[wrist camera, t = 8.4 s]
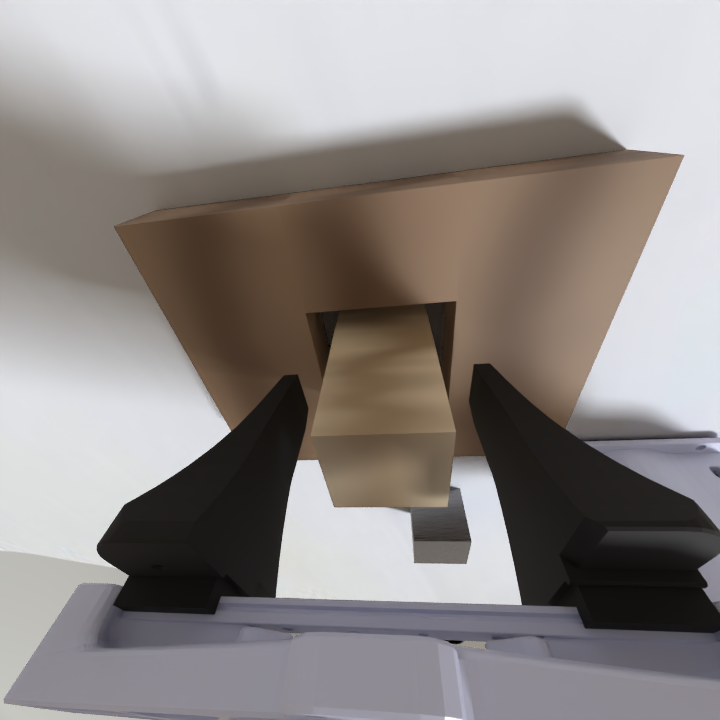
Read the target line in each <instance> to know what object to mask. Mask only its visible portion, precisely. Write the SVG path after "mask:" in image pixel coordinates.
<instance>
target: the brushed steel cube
mask: <svg viewBox="0 0 720 720" xmlns="http://www.w3.org/2000/svg"><path fill="white" fill-rule="evenodd" d="M410 514H411V527H412V540H413V553H414V563H446V564H466V563H467V559H468V554H469V550H470V546H471V537H470V533H469V528H468V524H467V519H466V515H465V510H464V505H463V501H462V496H461V492H460V489H450V490H449V499H448V507H410Z"/></svg>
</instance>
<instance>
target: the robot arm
mask: <svg viewBox="0 0 720 720" xmlns="http://www.w3.org/2000/svg"><path fill="white" fill-rule="evenodd" d="M469 404H470V409H471V414H472V418H473V422H474V426H475V428H476V431H477V434H478V437H479V440H480V442H481V445H482V448H483V450H484V453H485V456H486V459H487V461H488V464H489V467H490V470H491V472H492V475H493V478H494V482H495V485H496V489H497V493H498V496H499V500H500V504H501V508H502V512H503V517H504V521H505V525H506V529H507V534H508V538H509V543H510V547H511V552H512V557H513V561H514V566H515V571H516V576H517V581H518V586H519V591H520V596H521V602H522V605H494V604H461V603H427V602H394V601H360V600H327V599H294V598H276V587H277V577H278V567H279V558H280V550H281V542H282V534H283V528H284V521H285V514H286V508H287V502H288V496H289V491H290V485H291V481H292V477H293V473H294V470H295V466H296V463H297V459H298V456H299V452H300V448H301V445H302V441H303V438H304V434H305V430H306V424H307V417H308V409H309V408H308V405H307V402H306V398H305V395H304V392H303V389H302V386H301V383H300V380H299V376H298V374H296V375H284V376H283V377H282V378H281V379H280V380H279V381H278V382H277V384H276V385H275V386H274V387H273V388H272V389H271V390H270V392H269V393H268V394H267V395H266V396H265V397H264V398H263V400H262V401H261V402H260V403H259V404H258V405H257V406H256V407H255V408H254V409H253V410H252V411H251V412H250V413H249V415H248V416H247V417H246V418H245V419H244V420H243V421H242V422H241V423H240V424H239V425H238V426H237V427H236V428H234V429H233V430H232V431H231V432H230V433H229V434H228V435H227V436H226V437H224V438H223V439H222V440H221V441H220V442H219V443H217V444H216V445H215V446H214V447H213V448H211V449H210V450H209V451H207V452H206V453H205V454H203V455H202V456H201V457H199V458H198V459H197V460H195V461H194V462H193V463H191V464H190V465H189V466H187V467H186V468H184V469H183V470H181V471H180V472H178V473H177V474H175V475H174V476H172V477H171V478H169V479H168V480H166V481H165V482H163V483H161V484H160V485H158V486H156V487H155V488H153V489H151V490H149V491H148V492H146V493H144V494H143V495H141V496H139V497H137V498H136V499H134V500H132V501H130V502H128V503H127V504H125V505H124V506H123V508H122V509H121V511H120V512H119V513H118V515H117V516H116V518H115V519H114V521H113V522H112V524H111V525H110V527H109V528H108V530H107V531H106V533H105V534H104V536H103V537H102V539H101V540H100V542H99V543H98V545H97V552H98V554H99V555H100V557H102V558H103V559H104V560H105V561H107V562H108V563H110V564H112V565H113V566H115V567H116V568H118V569H120V570H121V571H123V572H124V573H126V574H127V575H129V577H128V579H127V581H126V583H125V584H124V586H120V585H116V584H101V583H82V584H80V585H78V587H77V588H76V590H75V591H74V593H73V594H72V596H71V598H70V599H69V601H68V602H67V604H66V605H65V607H64V608H63V610H62V611H61V613H60V614H59V616H58V617H57V619H56V620H55V622H54V624H53V625H52V626H51V628H50V629H49V631H48V632H47V634H46V636H45V637H44V639H43V640H42V642H41V643H40V645H39V646H38V648H37V649H36V651H35V652H34V654H33V655H32V657H31V658H30V660H29V661H28V663H27V664H26V666H25V668H24V669H23V670H22V672H21V674H20V675H19V677H18V678H17V680H16V681H15V683H14V684H13V686H12V687H11V689H10V690H9V692H8V693H7V695H6V696H5V698H4V703H6V704H13V705H21V706H28V707H36V708H42V709H50V710H57V711H64V712H72V713H83V714H95V715H108V716H118V717H130V718H141V719H151V720H720V438H686V439H651V440H617V441H582V440H580V439H579V438H577V437H576V436H574V435H573V434H571V433H570V432H568V431H567V430H566V429H564V428H563V427H561V426H560V425H559V424H557V423H556V422H554V421H553V420H552V419H551V418H549V417H548V416H547V415H546V414H544V413H543V412H542V411H541V410H539V409H538V408H537V407H536V406H535V405H533V404H532V403H531V402H530V401H529V400H528V399H527V398H526V397H524V396H523V395H522V394H521V393H520V392H519V391H518V390H517V389H516V388H515V387H514V386H513V385H512V384H511V383H509V382H508V381H507V380H506V379H505V378H504V377H503V376H502V375H501V374H500V373H499V372H498V371H497V370H496V369H495V368H494V367H493V366H492V365H491V364H490V363H485V364H474V366H473V373H472V381H471V388H470V396H469ZM289 633H302V634H299V635H296V636H295V637H294V638H293V636H292V635H291V634H289ZM444 640H463V641H486V644H485V648H486V649H479V648H472V647H463V646H456V645H451V644H450V643H449V642H447V641H444Z"/></svg>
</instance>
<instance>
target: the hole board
mask: <svg viewBox="0 0 720 720" xmlns="http://www.w3.org/2000/svg"><path fill="white" fill-rule="evenodd" d="M683 157H684V155H678V154H668V153H658V152H647V151H637V150H621V151H613V152H605V153H598V154H590V155H582V156H574V157H567V158H559V159H551V160H544V161H536V162H528V163H520V164H513V165H505V166H497V167H489V168H482V169H474V170H466V171H459V172H451V173H443V174H435V175H428V176H420V177H412V178H404V179H397V180H389V181H381V182H374V183H366V184H358V185H350V186H343V187H335V188H327V189H320V190H312V191H304V192H296V193H289V194H281V195H273V196H265V197H258V198H250V199H242V200H235V201H227V202H219V203H211V204H204V205H196V206H188V207H180V208H173V209H165V210H157V211H153V212H151V213H148V214H146V215H143V216H140V217H138V218H135V219H132V220H130V221H127V222H124V223H122V224H119V225H116V226H114V228H115V229H116V231H117V233H118V235H119V236H120V238H121V240H122V242H123V243H124V245H125V247H126V249H127V250H128V252H129V254H130V256H131V257H132V259H133V261H134V262H135V264H136V266H137V268H138V269H139V271H140V273H141V275H142V276H143V278H144V280H145V282H146V283H147V285H148V287H149V289H150V290H151V292H152V294H153V296H154V297H155V299H156V301H157V303H158V304H159V306H160V308H161V309H162V311H163V313H164V315H165V316H166V318H167V320H168V322H169V323H170V325H171V327H172V329H173V330H174V332H175V334H176V336H177V337H178V339H179V341H180V343H181V344H182V346H183V348H184V350H185V351H186V353H187V355H188V356H189V358H190V360H191V362H192V363H193V365H194V367H195V369H196V370H197V372H198V374H199V376H200V377H201V379H202V381H203V383H204V384H205V386H206V388H207V390H208V391H209V393H210V395H211V397H212V398H213V400H214V402H215V404H216V405H217V407H218V409H219V410H220V412H221V414H222V416H223V417H224V419H225V421H226V423H227V424H228V426H229V428H230V430H231V431H232V430H233V429H234V428H236V427H237V426H238V425H239V424H240V423H241V422H242V421H243V420H244V419H245V418H246V417H247V416H248V415H249V413H250V412H251V411H252V410H253V409H254V408H255V407H256V406H257V405H258V404H259V403H260V402H261V401H262V400H263V398H264V397H265V396H266V395H267V394H268V393H269V392H270V390H271V389H272V388H273V387H274V386H275V385H276V384H277V382H278V381H279V380H280V379H281V378H282V377H283V376H284V375H296V374H298V376H299V380H300V383H301V386H302V389H303V392H304V395H305V398H306V402H307V405H308V408H309V409H308V417H307V424H306V430H305V434H304V438H303V441H302V445H301V448H300V452H299V456H298V459H297V460H318V458H317V455H316V452H315V449H314V446H313V443H312V440H311V437H310V436H311V432H312V427H313V423H314V419H315V414H316V410H317V406H318V401H319V397H320V392H321V388H322V384H323V379H324V375H325V371H326V366H327V362H328V357H329V353H330V350H329V345H328V341H327V336H326V332H325V327H324V323H323V318H322V314H321V312H328V311H340V310H352V309H365V308H377V307H389V306H401V305H414V304H426V303H438V302H444V317H443V336H442V355H441V372H442V376H443V380H444V384H445V388H446V392H447V396H448V401H449V405H450V409H451V413H452V417H453V421H454V425H455V429H456V438H455V447H454V455H453V456H485V453H484V450H483V448H482V445H481V442H480V440H479V437H478V434H477V431H476V428H475V426H474V422H473V418H472V414H471V409H470V404H469V396H470V388H471V381H472V373H473V366H474V364H485V363H490V364H491V365H492V366H493V367H494V368H495V369H496V370H497V371H498V372H499V373H500V374H501V375H502V376H503V377H504V378H505V379H506V380H507V381H508V382H509V383H511V384H512V385H513V386H514V387H515V388H516V389H517V390H518V391H519V392H520V393H521V394H522V395H523V396H524V397H526V398H527V399H528V400H529V401H530V402H531V403H532V404H533V405H535V406H536V407H537V408H538V409H539V410H541V411H542V412H543V413H544V414H546V415H547V416H548V417H549V418H551V419H552V420H553V421H554V422H556V423H557V424H559V425H560V426H561V427H563V428H564V429H565V428H566V425H567V423H568V421H569V418H570V416H571V414H572V412H573V409H574V407H575V405H576V402H577V400H578V398H579V396H580V393H581V391H582V389H583V386H584V384H585V382H586V379H587V377H588V375H589V373H590V370H591V368H592V366H593V363H594V361H595V359H596V357H597V354H598V352H599V350H600V347H601V345H602V343H603V341H604V338H605V336H606V334H607V331H608V329H609V327H610V325H611V322H612V320H613V318H614V315H615V313H616V311H617V308H618V306H619V304H620V302H621V299H622V297H623V295H624V292H625V290H626V288H627V286H628V283H629V281H630V279H631V276H632V274H633V272H634V270H635V267H636V265H637V263H638V260H639V258H640V256H641V254H642V251H643V249H644V247H645V244H646V242H647V240H648V237H649V235H650V233H651V231H652V228H653V226H654V224H655V221H656V219H657V217H658V215H659V212H660V210H661V208H662V205H663V203H664V201H665V199H666V196H667V194H668V192H669V189H670V187H671V185H672V183H673V180H674V178H675V176H676V173H677V171H678V169H679V166H680V164H681V162H682V160H683Z"/></svg>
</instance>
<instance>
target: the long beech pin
mask: <svg viewBox="0 0 720 720" xmlns="http://www.w3.org/2000/svg"><path fill="white" fill-rule="evenodd" d="M310 437H311V440H312V443H313V446H314V449H315V452H316V455H317V458H318V461H319V464H320V467H321V469H322V472H323V475H324V478H325V481H326V484H327V487H328V490H329V493H330V496H331V499H332V502H333V505H334V507H448V499H449V490H450V482H451V473H452V464H453V455H454V447H455V438H456V429H455V425H454V421H453V417H452V413H451V409H450V405H449V401H448V396H447V392H446V388H445V384H444V380H443V376H442V372H441V368H440V364H439V360H438V355H437V351H436V347H435V343H434V339H433V335H432V331H431V327H430V323H429V318H428V314H427V310H426V306H425V304H414V305H401V306H389V307H377V308H365V309H352V310H340V311H339V314H338V318H337V322H336V327H335V331H334V336H333V340H332V344H331V349H330V353H329V357H328V362H327V366H326V371H325V375H324V379H323V384H322V388H321V392H320V397H319V401H318V406H317V410H316V414H315V419H314V423H313V427H312V432H311V436H310Z"/></svg>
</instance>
